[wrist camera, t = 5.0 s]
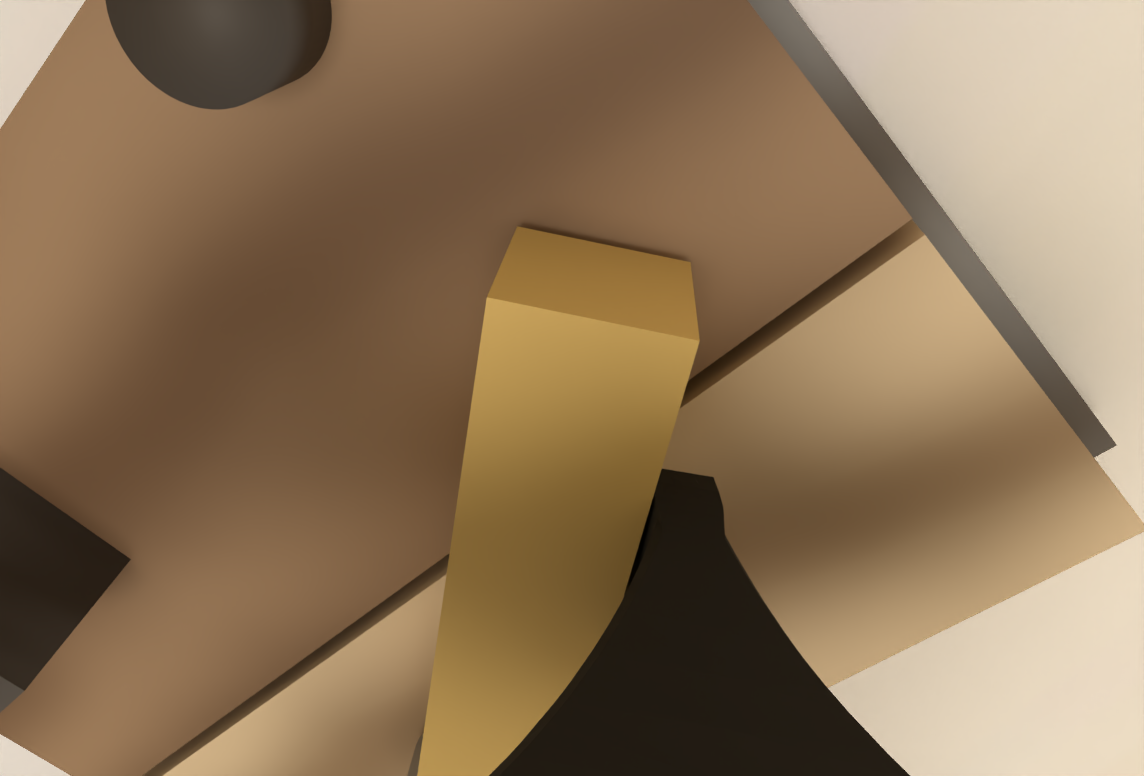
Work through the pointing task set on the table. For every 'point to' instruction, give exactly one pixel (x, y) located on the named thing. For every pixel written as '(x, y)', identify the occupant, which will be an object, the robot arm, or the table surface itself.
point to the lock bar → (552, 482)
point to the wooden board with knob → (464, 354)
